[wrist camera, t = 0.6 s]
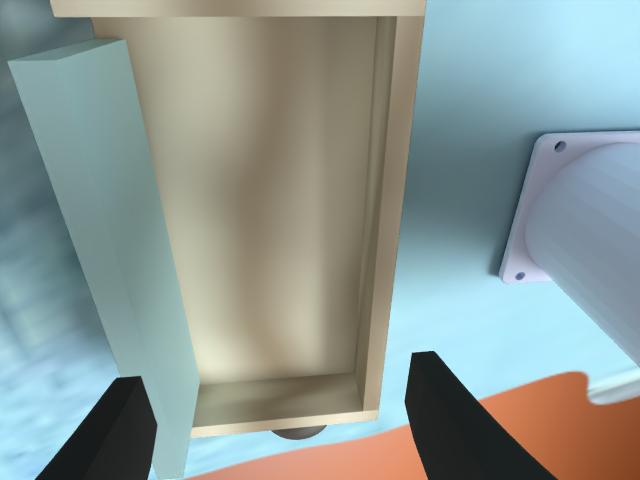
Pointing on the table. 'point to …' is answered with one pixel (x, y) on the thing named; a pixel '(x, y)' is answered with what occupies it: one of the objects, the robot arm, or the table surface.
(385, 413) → the table surface
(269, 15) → the beige tray
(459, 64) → the table surface
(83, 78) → the tailgate
